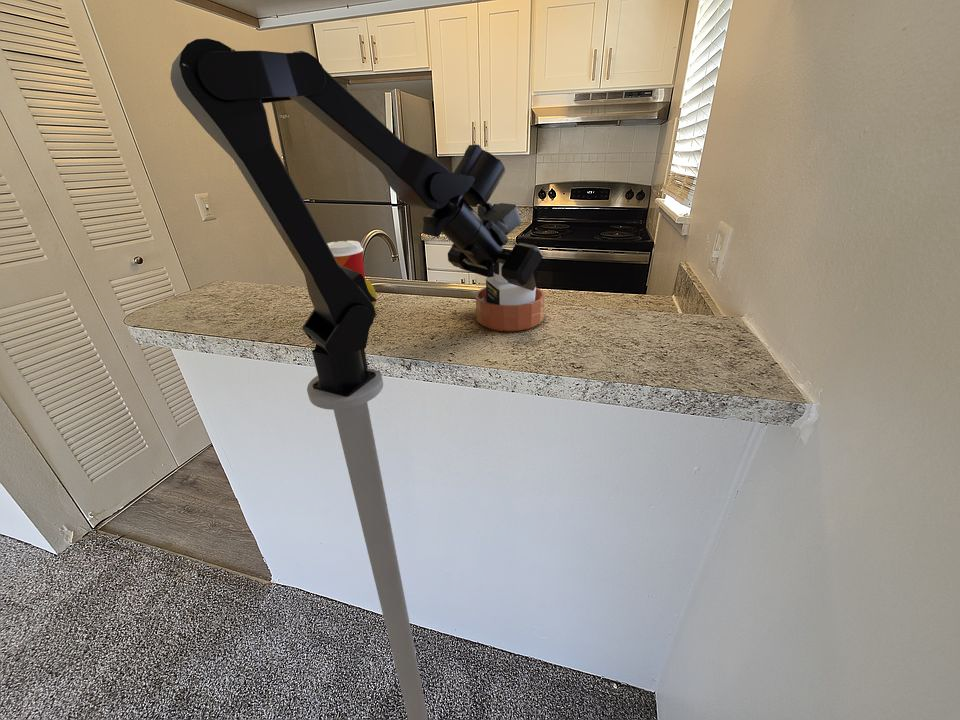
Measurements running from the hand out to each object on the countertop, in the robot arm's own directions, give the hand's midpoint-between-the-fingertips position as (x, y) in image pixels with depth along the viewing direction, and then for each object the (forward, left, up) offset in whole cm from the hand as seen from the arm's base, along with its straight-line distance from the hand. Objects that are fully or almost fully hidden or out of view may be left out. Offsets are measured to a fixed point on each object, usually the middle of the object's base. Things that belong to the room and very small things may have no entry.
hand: (515, 282), depth 74 cm
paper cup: (-10, +30, 0) cm, 32 cm away
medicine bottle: (-1, +1, -6) cm, 7 cm away
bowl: (-1, +1, -7) cm, 7 cm away
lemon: (-9, +29, -7) cm, 31 cm away
